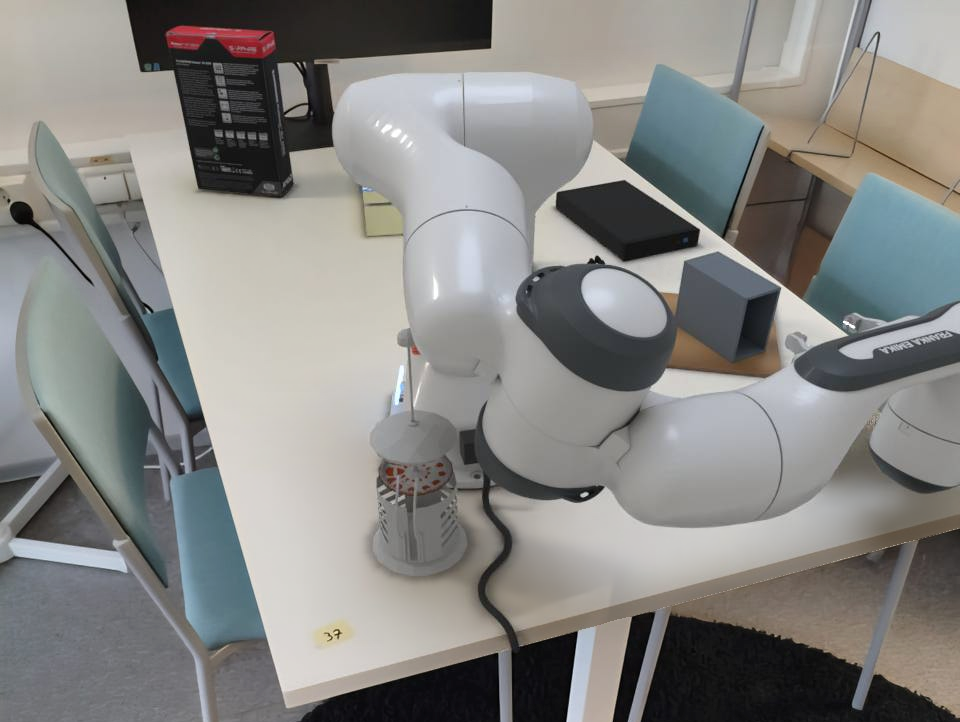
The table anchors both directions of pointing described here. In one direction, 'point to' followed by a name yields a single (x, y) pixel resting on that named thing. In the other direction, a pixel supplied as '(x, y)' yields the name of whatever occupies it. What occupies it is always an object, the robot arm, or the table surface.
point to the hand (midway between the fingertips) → (819, 328)
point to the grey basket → (726, 306)
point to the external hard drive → (627, 220)
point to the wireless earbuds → (596, 260)
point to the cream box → (380, 214)
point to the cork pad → (703, 358)
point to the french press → (416, 490)
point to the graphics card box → (232, 109)
